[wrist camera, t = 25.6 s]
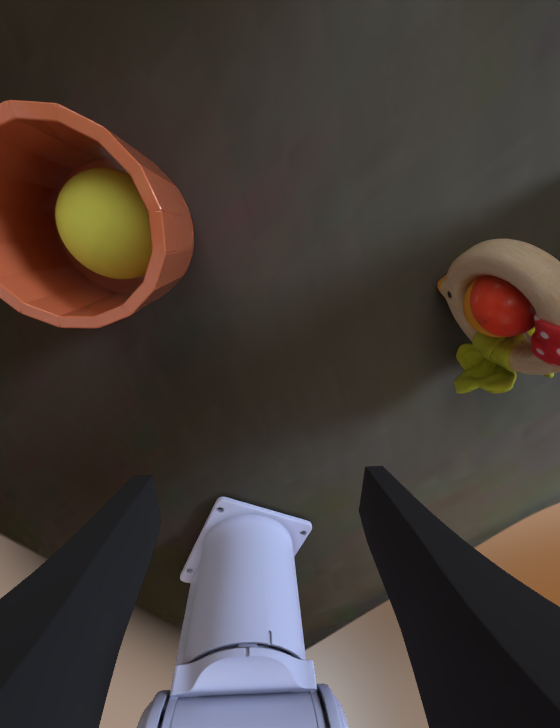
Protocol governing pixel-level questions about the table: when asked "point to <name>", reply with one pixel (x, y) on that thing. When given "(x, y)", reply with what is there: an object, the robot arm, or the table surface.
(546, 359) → the bird rattle
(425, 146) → the table surface
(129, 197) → the ball
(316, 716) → the robot arm
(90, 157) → the pot
